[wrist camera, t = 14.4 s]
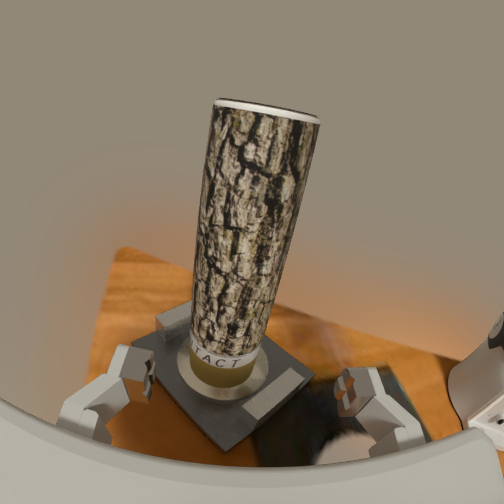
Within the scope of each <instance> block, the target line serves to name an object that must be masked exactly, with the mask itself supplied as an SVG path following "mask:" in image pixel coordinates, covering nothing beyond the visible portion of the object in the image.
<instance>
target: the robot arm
mask: <svg viewBox="0 0 504 504" xmlns="http://www.w3.org/2000/svg"><path fill="white" fill-rule="evenodd" d="M154 357H155V355H154V351H150V350H146V349H141V348H137V347H132V346H128V345H124V344H119V345H118V346H117V348H116V350H115V353H114V355H113V358H112V360H111V363H110V366H109V368H108V371H107V374H105V373H103V374H101V375H100V376H99V377H97V378H96V379H94V380H93V381H92V382H90V383H89V384H87V385H86V386H85V387H83V388H82V389H80V390H79V391H78V392H76V393H75V394H73V395H72V396H71V397H69V398H68V399H66V400H65V402H64V405H63V407H62V410H61V412H60V415H59V418H58V420H57V423H56V425H54V424H51V423H49V422H47V421H44V420H42V419H40V418H38V417H36V416H34V415H32V414H30V413H28V412H26V411H24V410H21V409H20V408H18V407H16V406H14V405H12V404H11V403H9V402H7V401H5V400H3V399H2V398H0V504H504V479H503V475H502V470H501V466H500V462H499V458H498V455H497V451H496V449H497V450H500V451H503V452H504V312H503V313H502V314H501V315H500V317H499V318H498V320H497V321H496V323H495V324H494V326H493V327H492V329H491V331H490V333H489V335H488V337H487V339H486V340H485V341H484V342H483V343H482V344H481V345H480V346H479V347H478V348H477V349H476V350H475V351H474V352H473V353H472V354H471V355H469V356H468V357H467V358H466V359H464V360H463V361H462V362H460V363H459V364H457V365H455V366H454V367H453V368H452V370H451V371H450V374H449V378H448V390H449V395H450V398H451V401H452V404H453V406H454V408H455V410H456V412H457V413H458V415H459V417H460V419H461V421H462V424H463V429H464V430H463V431H460V432H458V433H455V434H453V435H450V436H447V437H444V438H442V439H439V440H436V441H433V442H430V443H426V441H425V438H424V435H423V432H422V429H421V426H420V423H419V422H418V421H417V420H416V419H415V418H414V417H413V416H412V415H410V414H409V413H408V412H407V411H406V410H405V409H404V408H403V407H401V406H400V405H399V404H398V403H397V402H396V401H395V400H394V399H393V398H391V397H390V396H389V395H386V394H385V391H384V388H383V385H382V382H381V379H380V377H379V374H378V371H377V369H376V368H375V367H366V368H365V367H357V368H345V369H343V371H342V372H341V373H342V376H340V377H339V378H337V380H336V382H335V385H334V395H335V397H336V398H337V399H338V400H339V402H338V403H337V408H338V413H339V417H346V416H355V417H356V418H357V420H358V421H359V422H360V423H361V424H362V426H363V427H364V428H365V429H366V430H367V432H368V433H369V434H370V435H371V436H372V438H373V439H374V440H375V441H376V442H377V443H376V444H375V445H374V446H372V447H371V448H370V449H369V455H370V458H365V459H360V460H354V461H347V462H340V463H332V464H323V465H312V466H298V467H235V466H221V465H210V464H201V463H193V462H186V461H179V460H173V459H167V458H162V457H157V456H152V455H147V454H143V453H139V452H134V451H130V450H127V449H123V448H119V447H116V446H112V445H111V442H112V438H113V437H112V435H111V434H110V432H109V431H108V429H107V428H106V426H105V425H106V424H107V423H108V422H109V421H110V420H111V419H112V418H113V417H114V416H115V415H116V414H117V413H118V412H119V411H120V410H121V409H122V408H124V407H125V406H126V405H127V404H128V403H129V402H130V400H131V401H136V402H141V403H146V404H149V401H150V397H151V393H152V389H151V385H152V384H153V383H154V380H155V375H156V362H155V361H154Z"/></svg>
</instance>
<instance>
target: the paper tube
mask: <svg viewBox="0 0 504 504" xmlns="http://www.w3.org/2000/svg"><path fill="white" fill-rule="evenodd" d="M319 127H320V119H319V118H318V117H317V116H315V115H311V114H308V113H303V112H299V111H295V110H290V109H285V108H281V107H276V106H270V105H265V104H259V103H253V102H247V101H241V100H234V99H226V98H219V99H216V100H215V102H214V104H213V109H212V115H211V122H210V128H209V136H208V142H207V149H206V156H205V164H204V172H203V180H202V188H201V197H200V206H199V216H198V226H197V236H196V248H195V260H194V273H193V288H192V305H191V325H190V366H191V369H192V371H193V373H194V374H195V376H196V377H197V378H198V379H199V380H201V381H202V382H204V383H205V384H207V385H210V386H213V387H217V388H232V387H235V386H238V385H240V384H242V383H244V382H245V381H246V380H247V379H248V378H249V377H250V375H251V373H252V371H253V368H254V365H255V361H256V358H257V355H258V352H259V350H260V346H261V343H262V340H263V337H264V333H265V330H266V327H267V323H268V320H269V317H270V313H271V310H272V307H273V303H274V300H275V296H276V292H277V289H278V286H279V282H280V279H281V275H282V271H283V268H284V265H285V261H286V258H287V254H288V250H289V246H290V243H291V239H292V236H293V232H294V228H295V224H296V221H297V217H298V213H299V209H300V205H301V201H302V197H303V194H304V189H305V186H306V182H307V178H308V174H309V169H310V165H311V161H312V157H313V153H314V149H315V145H316V140H317V136H318V132H319Z"/></svg>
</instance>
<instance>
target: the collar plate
mask: <svg viewBox="0 0 504 504" xmlns="http://www.w3.org/2000/svg"><path fill="white" fill-rule="evenodd" d="M191 305H192V301H189V302H187V303H185V304H182V305H180V306H178V307H175V308H173V309H171V310H168V311H166V312H164V313H162V314H159V315H157V316H155V318H156V331H155V332H153V333H151V334H149V335H147V336H144V337H142V338H140V339H138V340H135V341H133V342H131V344H132V347H137V348H141V349H146V350H150V351H154V355H155V357H154V361H155V362H156V375H155V379H156V380H157V381H158V383H159V384H160V385H161V386H162V388H163V389H164V390H165V391H166V392H167V394H168V395H169V396H170V397H171V398H172V400H173V401H174V402H175V403H176V404H177V405H178V407H179V408H180V409H181V410H182V411H183V412H184V413H185V414H186V416H187V417H188V418H189V419H190V420H191V421H192V422H193V423H194V424H195V425H196V426H197V427H198V429H199V430H200V431H201V432H202V433H203V434H204V435H205V436H206V437H207V438H208V439H209V440H210V441H211V442H212V443H213V444H214V445H215V446H216V447H217V448H218V449H219V450H220V451H221V452H222V453H223V454H226V453H227V452H229V451H230V450H231V449H233V448H234V447H235V446H237V445H238V444H239V443H240V442H242V441H243V440H244V439H246V438H247V437H248V436H249V435H251V434H252V433H253V432H254V431H256V430H257V429H258V428H259V427H260V426H262V425H263V424H264V423H265V422H266V421H267V420H269V419H270V418H271V417H272V416H273V415H274V414H276V413H277V412H278V411H279V410H280V409H281V408H282V407H283V406H285V405H286V404H287V403H288V402H289V401H290V400H291V399H292V398H293V397H294V396H295V395H297V394H298V393H299V392H300V391H301V390H302V389H303V388H304V387H305V386H306V385H307V384H308V383H309V382H310V381H311V380H312V379H313V378H314V376H315V373H314V372H312V371H311V370H310V369H308V368H307V367H306V366H304V365H303V364H302V363H300V362H299V361H298V360H296V359H295V358H294V357H292V356H291V355H290V354H289V353H287V352H286V351H285V350H283V349H282V348H281V347H279V346H278V345H277V344H276V343H274V342H273V341H272V340H271V339H269V338H268V337H267V336H265V335H264V337H263V340H262V343H261V346H260V350H259V352H258V355H257V358H256V361H255V365H254V368H253V371H252V373H251V375H250V377H249V378H248V379H247V380H246V381H245V382H244V383H242V384H240V385H238V386H235V387H232V388H217V387H213V386H210V385H207V384H205V383H204V382H202V381H201V380H199V379H198V378H197V377H196V376H195V374H194V373H193V371H192V369H191V366H190V325H191Z"/></svg>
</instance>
